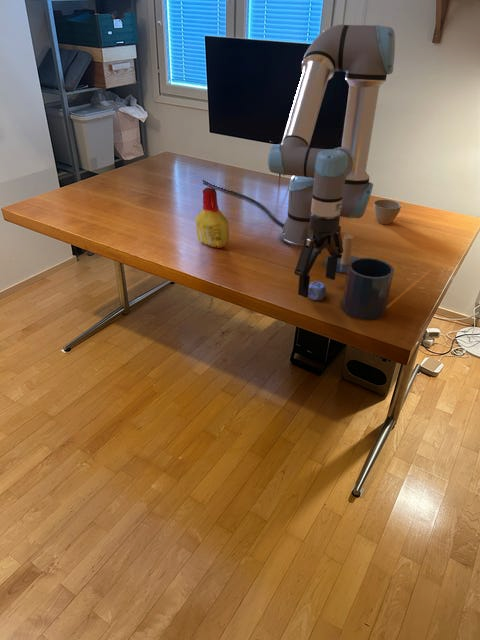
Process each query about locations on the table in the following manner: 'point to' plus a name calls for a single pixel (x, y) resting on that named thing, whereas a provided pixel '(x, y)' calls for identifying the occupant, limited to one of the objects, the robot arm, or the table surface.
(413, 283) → the table surface
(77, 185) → the table surface
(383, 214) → the flower pot
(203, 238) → the bottle
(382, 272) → the dark blue cylinder
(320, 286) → the decorative dice
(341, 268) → the lid
